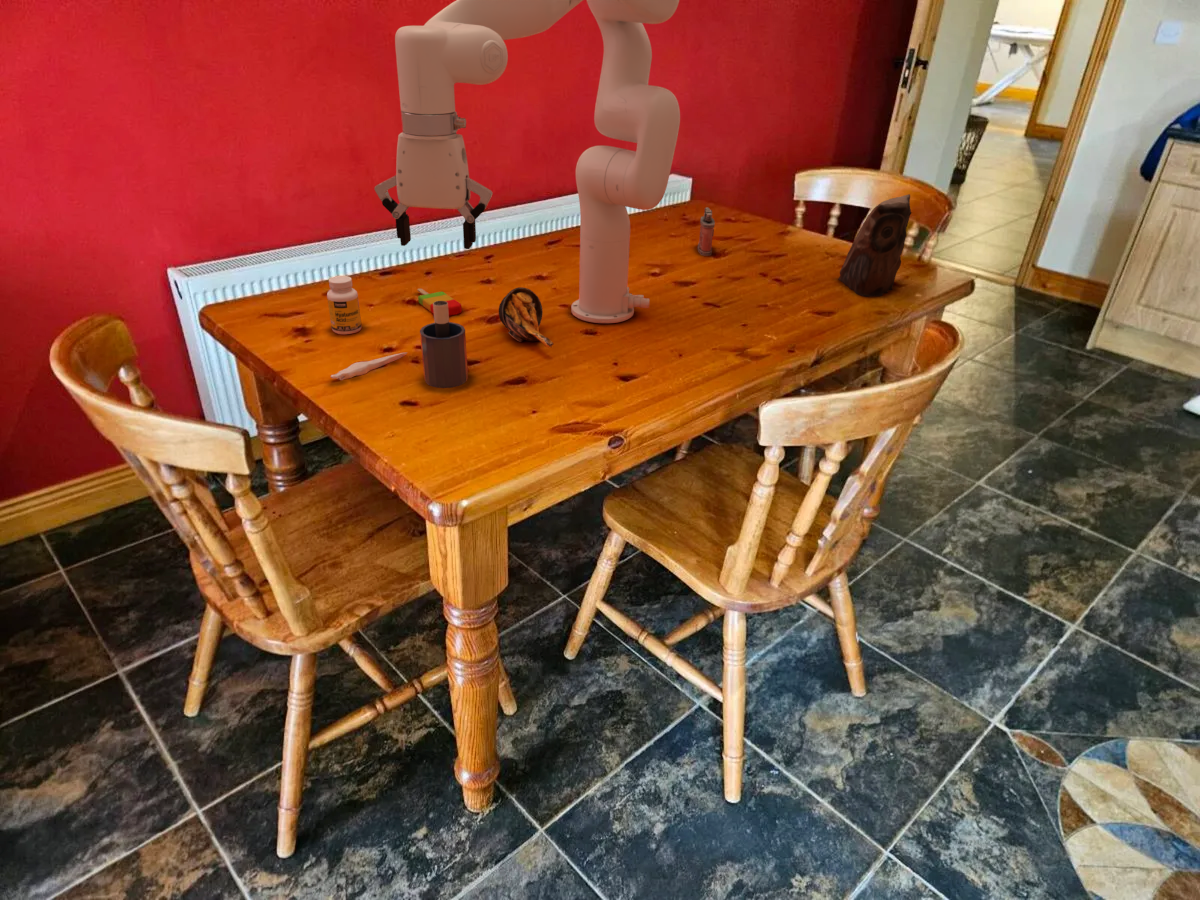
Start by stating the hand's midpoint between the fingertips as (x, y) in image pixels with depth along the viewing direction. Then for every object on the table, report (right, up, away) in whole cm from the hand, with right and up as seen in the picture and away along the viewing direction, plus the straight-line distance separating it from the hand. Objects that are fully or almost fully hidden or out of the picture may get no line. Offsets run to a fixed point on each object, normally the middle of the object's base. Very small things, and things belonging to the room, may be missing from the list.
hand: (437, 245), depth 120 cm
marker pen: (-1, -19, +10) cm, 22 cm away
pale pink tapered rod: (-14, -18, +13) cm, 26 cm away
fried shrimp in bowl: (+11, -11, +25) cm, 30 cm away
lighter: (+51, +18, +76) cm, 94 cm away
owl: (+85, +5, +57) cm, 102 cm away
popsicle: (-9, -2, +40) cm, 41 cm away
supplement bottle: (-22, -9, +27) cm, 37 cm away
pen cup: (-1, -20, +10) cm, 22 cm away
